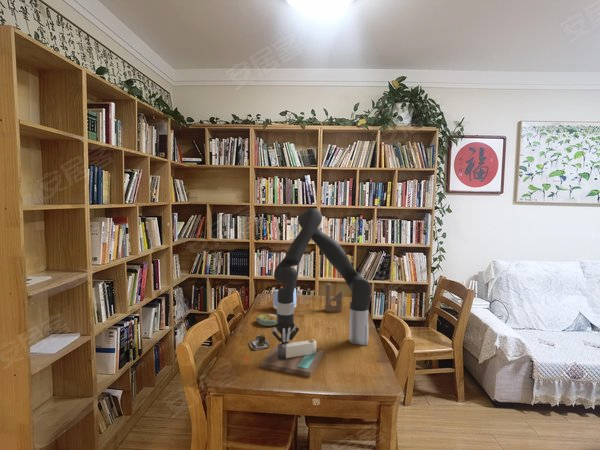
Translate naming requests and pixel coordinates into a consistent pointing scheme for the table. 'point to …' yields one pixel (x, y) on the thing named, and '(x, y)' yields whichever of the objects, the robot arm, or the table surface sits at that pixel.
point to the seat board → (292, 363)
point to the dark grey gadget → (259, 343)
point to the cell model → (267, 319)
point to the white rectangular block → (296, 349)
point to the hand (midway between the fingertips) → (285, 349)
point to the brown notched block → (336, 298)
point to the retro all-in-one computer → (277, 299)
